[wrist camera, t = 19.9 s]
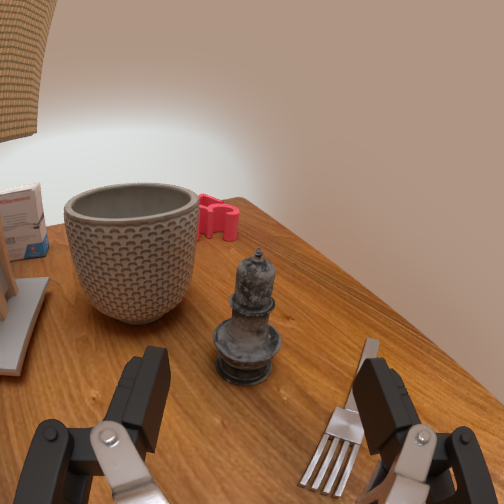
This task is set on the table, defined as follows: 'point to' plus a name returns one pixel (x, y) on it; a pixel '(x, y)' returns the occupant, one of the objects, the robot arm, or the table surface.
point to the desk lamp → (13, 127)
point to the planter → (133, 247)
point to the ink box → (23, 222)
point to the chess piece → (248, 325)
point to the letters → (217, 218)
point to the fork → (340, 438)
